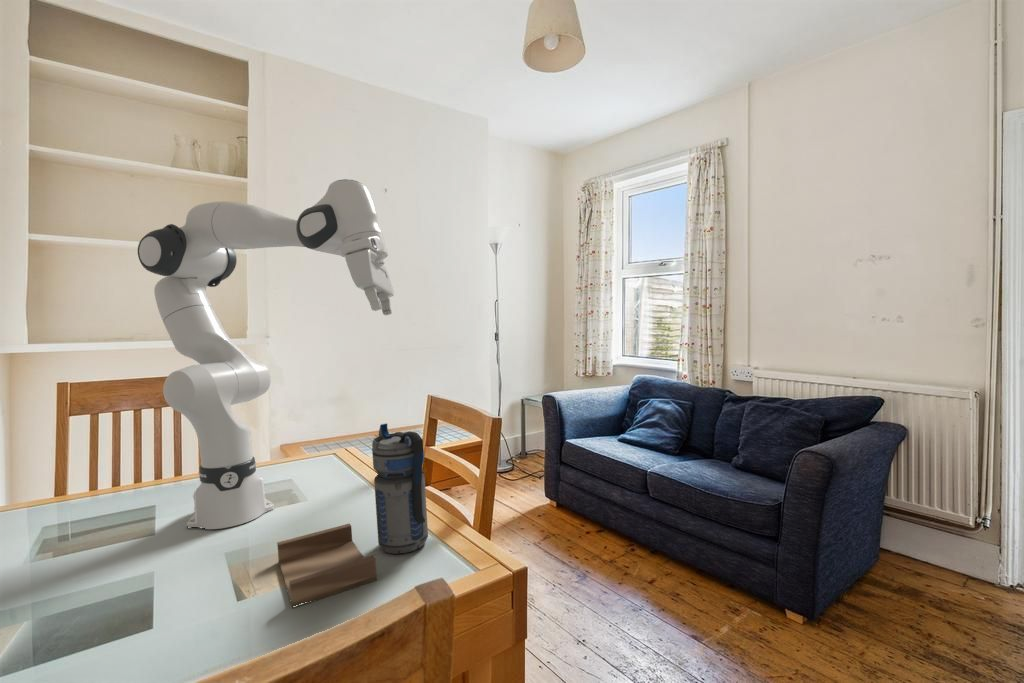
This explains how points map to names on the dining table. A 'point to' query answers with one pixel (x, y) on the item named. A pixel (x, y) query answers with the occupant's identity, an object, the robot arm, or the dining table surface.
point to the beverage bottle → (399, 491)
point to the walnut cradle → (323, 564)
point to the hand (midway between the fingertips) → (382, 312)
